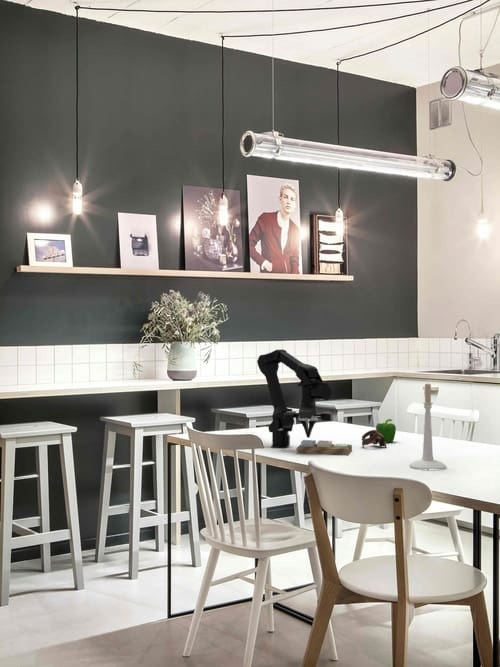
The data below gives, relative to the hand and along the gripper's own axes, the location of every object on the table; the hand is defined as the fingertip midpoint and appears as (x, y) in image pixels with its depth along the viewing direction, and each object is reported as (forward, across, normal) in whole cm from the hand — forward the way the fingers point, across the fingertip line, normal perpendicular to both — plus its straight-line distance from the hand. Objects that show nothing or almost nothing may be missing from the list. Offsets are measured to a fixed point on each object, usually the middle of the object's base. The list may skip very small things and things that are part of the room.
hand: (308, 437), depth 342 cm
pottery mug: (+6, +24, +18) cm, 31 cm away
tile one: (+4, 0, 0) cm, 4 cm away
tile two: (+4, +7, 0) cm, 8 cm away
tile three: (+5, +13, 0) cm, 14 cm away
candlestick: (+6, +48, -26) cm, 55 cm away
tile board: (+6, +7, 0) cm, 9 cm away
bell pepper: (+6, +28, +33) cm, 43 cm away
